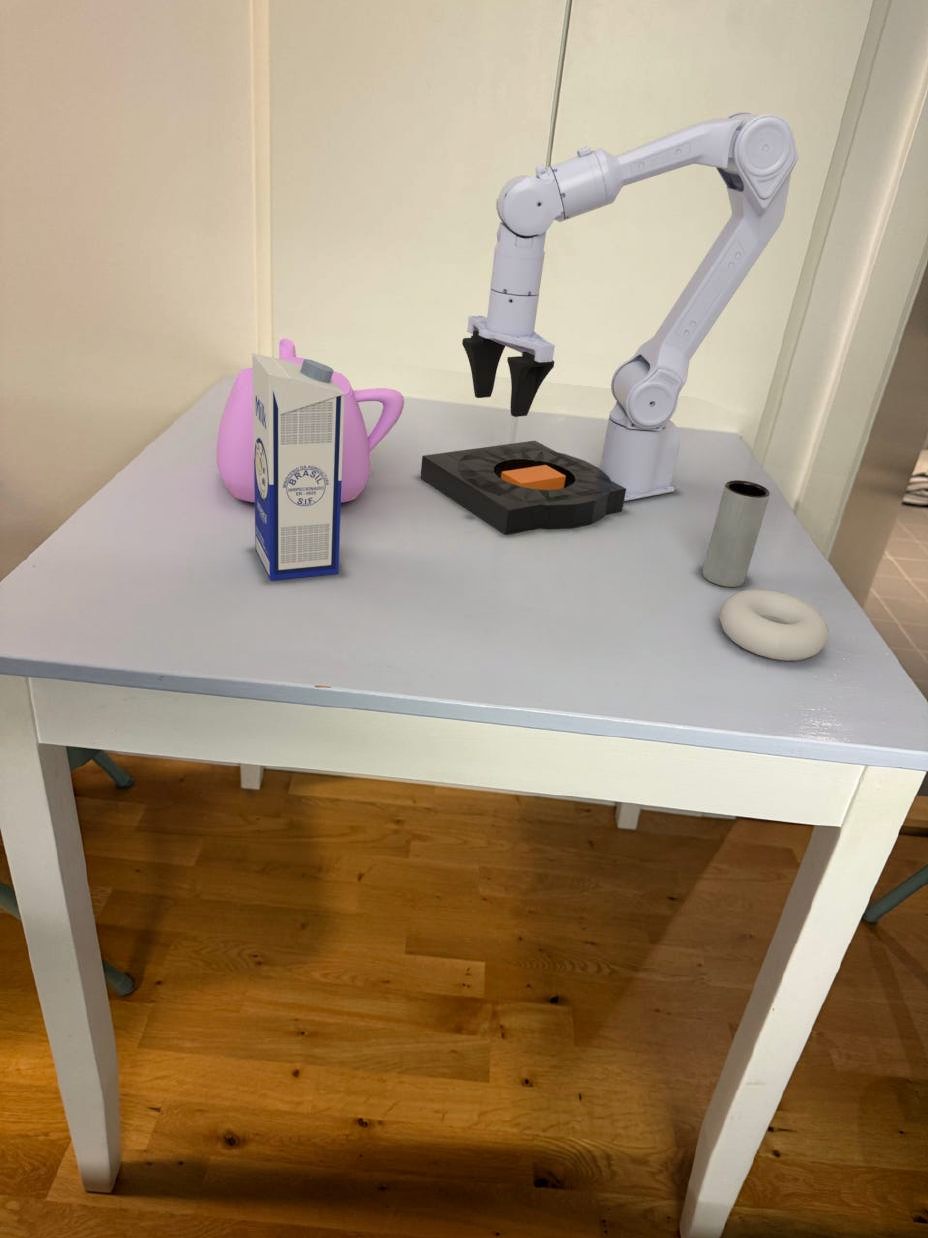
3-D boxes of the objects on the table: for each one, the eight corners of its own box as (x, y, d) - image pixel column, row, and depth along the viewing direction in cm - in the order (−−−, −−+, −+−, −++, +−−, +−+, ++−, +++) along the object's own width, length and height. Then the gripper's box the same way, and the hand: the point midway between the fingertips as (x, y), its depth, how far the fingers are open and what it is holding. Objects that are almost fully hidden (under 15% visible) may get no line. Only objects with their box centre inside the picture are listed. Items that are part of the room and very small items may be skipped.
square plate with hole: (540, 460, 123) (543, 439, 121) (639, 514, 109) (644, 491, 108) (420, 478, 112) (422, 455, 111) (513, 540, 99) (516, 515, 98)
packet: (542, 486, 114) (545, 464, 113) (562, 498, 111) (566, 475, 110) (498, 494, 110) (501, 471, 109) (518, 506, 108) (521, 483, 106)
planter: (745, 574, 98) (771, 485, 92) (742, 591, 94) (769, 500, 89) (703, 564, 99) (727, 476, 94) (699, 581, 95) (723, 490, 90)
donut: (796, 616, 91) (701, 609, 89) (806, 586, 89) (710, 579, 87) (840, 671, 82) (736, 665, 81) (852, 639, 80) (747, 632, 79)
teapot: (409, 517, 101) (419, 386, 94) (216, 517, 96) (211, 377, 89) (381, 448, 120) (387, 333, 113) (219, 444, 115) (214, 324, 108)
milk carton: (254, 549, 91) (251, 350, 81) (319, 543, 93) (324, 350, 84) (270, 581, 85) (269, 372, 75) (339, 574, 88) (346, 371, 78)
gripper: (451, 278, 107) (441, 391, 113) (525, 305, 97) (510, 427, 103) (498, 278, 110) (486, 387, 117) (575, 304, 100) (556, 421, 107)
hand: (500, 405), depth 110 cm, fingers open, 7 cm apart
